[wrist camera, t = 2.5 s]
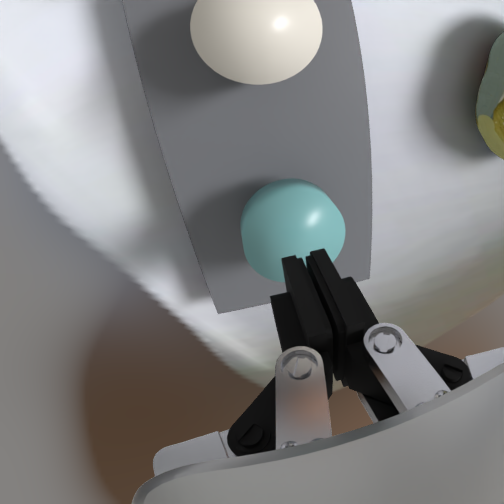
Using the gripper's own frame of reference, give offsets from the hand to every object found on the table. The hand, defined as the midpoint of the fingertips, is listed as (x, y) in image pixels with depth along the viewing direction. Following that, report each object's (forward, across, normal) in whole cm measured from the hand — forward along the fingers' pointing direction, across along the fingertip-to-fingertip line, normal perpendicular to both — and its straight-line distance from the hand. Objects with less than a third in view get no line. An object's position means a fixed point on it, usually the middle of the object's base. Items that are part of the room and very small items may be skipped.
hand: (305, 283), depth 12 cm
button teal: (+4, 0, -1) cm, 4 cm away
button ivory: (+4, 0, -10) cm, 10 cm away
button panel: (+7, 0, -10) cm, 12 cm away
